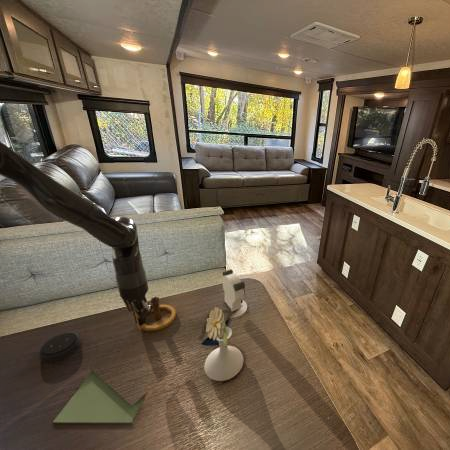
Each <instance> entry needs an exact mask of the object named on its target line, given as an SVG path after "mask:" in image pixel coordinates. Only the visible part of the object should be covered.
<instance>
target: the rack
mask: <svg viewBox="0 0 450 450" xmlns="http://www.w3.org/2000/svg"><path fill="white" fill-rule="evenodd" d="M150 303H151V305H152V306H153V315H154V316H153V317H154V320H155V321H154V322H152V323H151V324H149V325H148V326H156V325H159V324H162V323H164V322H165V321H167V320H168V319H169V318H170V317H171V315H172V313H171V312H167V313H166V314H164V315H162V313H161V309H160V306H159V305H160V297H159V296H157V295H155V296H152V297H151V298H150ZM154 331H155V330H154ZM154 331H153V332H154ZM155 332H156V331H155Z"/></svg>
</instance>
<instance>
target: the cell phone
mask: <svg viewBox="0 0 450 450" xmlns="http://www.w3.org/2000/svg"><path fill="white" fill-rule="evenodd" d="M230 319H231V318H230V317H229V318H227V320H225V324H226V327H229V322H230ZM200 345H202V346H219V342H218V340H216V339H215V340H213V336H212V338H211V339H210V338H209V337H208V336H207V338H205V339H204V340H203V341H201V343H200Z"/></svg>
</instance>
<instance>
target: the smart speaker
mask: <svg viewBox="0 0 450 450" xmlns="http://www.w3.org/2000/svg"><path fill="white" fill-rule="evenodd" d="M81 344H82V340H81V337H80V335H79V334H78V333H76V332H71V331H70V332H63V333H60V334H56V335H54V336H53V337H50V339H48V340H46V341H45V342H44V343H43V344H42V345H41V347H40V348H39V350H38V355H39V357H40V359H41V361H42V362H44V363H45V362H46V363H53V362H58V361H60V360H64V359H66V358H67V357H69V356H70V355H72V354H73V353H75V352H76V351H77V350H78V349H79V347H80V346H81Z"/></svg>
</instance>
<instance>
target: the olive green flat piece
mask: <svg viewBox="0 0 450 450" xmlns="http://www.w3.org/2000/svg"><path fill="white" fill-rule="evenodd" d="M148 393H149V391H147V392H145V394H143V395H142V396H141V397H140V398H139V399H138V400H137V401H136V402H135V403H133V404H131V403H130V402H129V401H128V400H126V399H125V398H124V397H123V396H122V395H121V394H120V393H119V392H118V391H116V390H115V389H114V388H113V387H112V386H110V384H108V383H107V381H105V380H104V379H102V378H101V377H100V376H99V375H98V374H97V373H96V372H95V371H94V370H91V372H90V373H89V375H88V376H87V377H86V378H85V380H84V381H83V383H81V385H80V386H79V388H77V390H76V391H75V393H73V395H72V396H71V398H70V399H69V400H68V401H67V403H66V404H65V406H64V407H63V408H62V409H61V410H60V412H59V413H58V414H57V416H56V417H55V419H54V420H53V421H52V423H53V424H133V422H134V420H135V418H136V416H137V415H138V413H139V410H140V409H141V406H142V405H143V404H144V403H143V402H144V401H145V399H146V397H147V395H148Z"/></svg>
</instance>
